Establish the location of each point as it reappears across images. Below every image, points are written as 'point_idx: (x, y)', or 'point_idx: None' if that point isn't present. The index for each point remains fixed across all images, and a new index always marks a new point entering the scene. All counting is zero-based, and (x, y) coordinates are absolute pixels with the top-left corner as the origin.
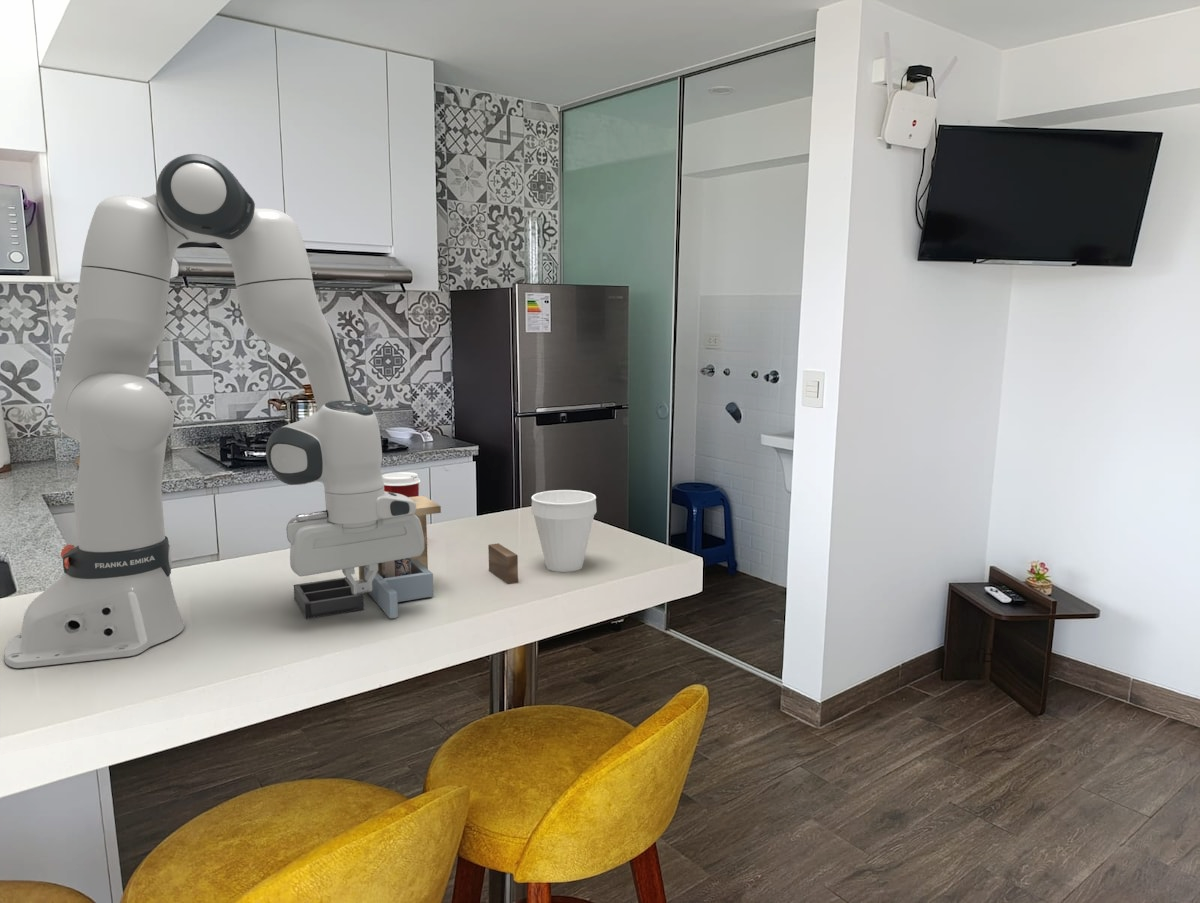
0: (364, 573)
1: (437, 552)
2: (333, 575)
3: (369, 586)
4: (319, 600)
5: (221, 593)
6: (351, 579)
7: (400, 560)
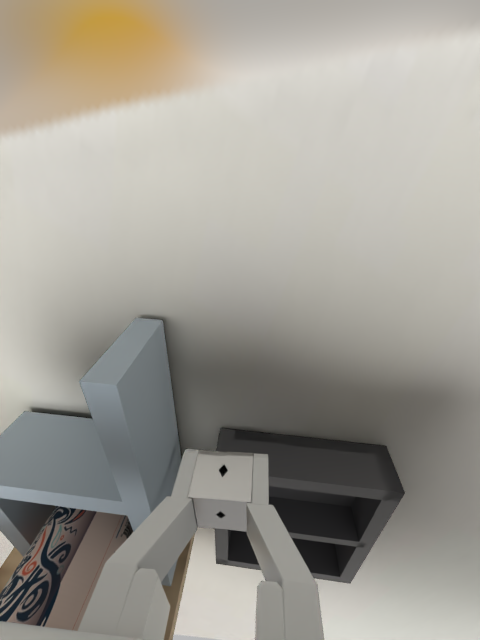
0: (176, 561)
1: None
2: (228, 575)
3: (191, 470)
4: (349, 495)
5: (442, 603)
6: (279, 540)
7: (37, 579)
